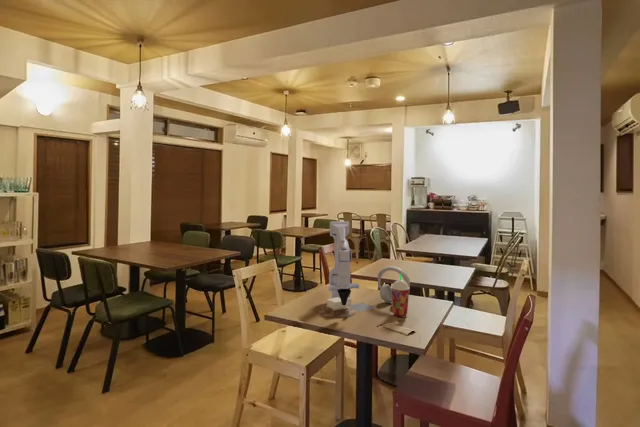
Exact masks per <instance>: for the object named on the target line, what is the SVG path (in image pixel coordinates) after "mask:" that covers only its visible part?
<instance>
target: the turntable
mask: <svg viewBox="0 0 640 427" xmlns="http://www.w3.org/2000/svg"><path fill="white" fill-rule="evenodd" d="M356 312H357V311H356V310H354V309H352V308H349V307H347V306H346V308H344V309H340V310H333V309H331V308H329V307H327V305H325V306H324V307H322V308H321V309H318V314H319V315H320V317H321V316H322V317H323V318H327V319H328V318H329V319H335V320H336V319H337V320H338V319H348V318H351V317H353V316H355V315H356Z"/></svg>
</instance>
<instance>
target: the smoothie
mask: <svg viewBox="0 0 640 427" xmlns="http://www.w3.org/2000/svg"><path fill="white" fill-rule="evenodd" d="M391 288H392V302H391V304H392V314H393V315H394V317H396V316H397V318H404V316H405V317H406V316H407V314H408V307H409V296H410V289H409V287H408V284H407V283H406V282H405V280H404V279H402V276H401V274H399V279H396V280H394V282H393V284H392V286H391Z"/></svg>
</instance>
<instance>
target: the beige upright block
mask: <svg viewBox="0 0 640 427" xmlns="http://www.w3.org/2000/svg"><path fill="white" fill-rule="evenodd" d="M348 305H352V298H351V297H350V298H348V299H347V303H346V305H342V303H341V299H340V298H339V297H336V298H332V297H331V298H327V299H326V306H327V307H329V308H331V309H333V310H340V309H344V308H346V307H347V306H348Z"/></svg>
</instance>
